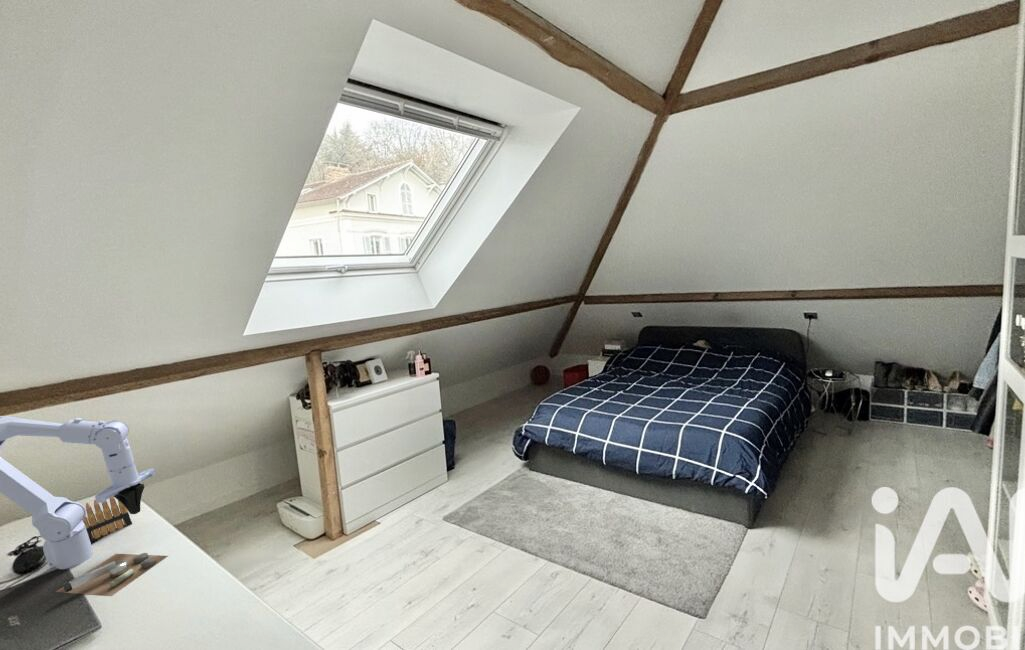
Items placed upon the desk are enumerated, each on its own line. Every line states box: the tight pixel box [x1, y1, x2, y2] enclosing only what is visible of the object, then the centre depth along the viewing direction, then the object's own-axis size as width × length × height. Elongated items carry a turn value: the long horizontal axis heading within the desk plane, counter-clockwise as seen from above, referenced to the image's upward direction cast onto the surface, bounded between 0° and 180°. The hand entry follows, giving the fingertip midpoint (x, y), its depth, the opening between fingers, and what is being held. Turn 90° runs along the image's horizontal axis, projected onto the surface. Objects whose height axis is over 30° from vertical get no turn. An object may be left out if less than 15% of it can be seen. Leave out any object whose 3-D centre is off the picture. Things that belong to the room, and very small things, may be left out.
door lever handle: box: [61, 561, 129, 592], centre depth 115 cm, size 12×4×3 cm, turn 139°
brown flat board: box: [55, 552, 169, 597], centre depth 119 cm, size 18×14×3 cm
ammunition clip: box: [83, 496, 133, 546], centre depth 139 cm, size 11×2×12 cm, turn 137°
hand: (135, 512), depth 131 cm, fingers closed
